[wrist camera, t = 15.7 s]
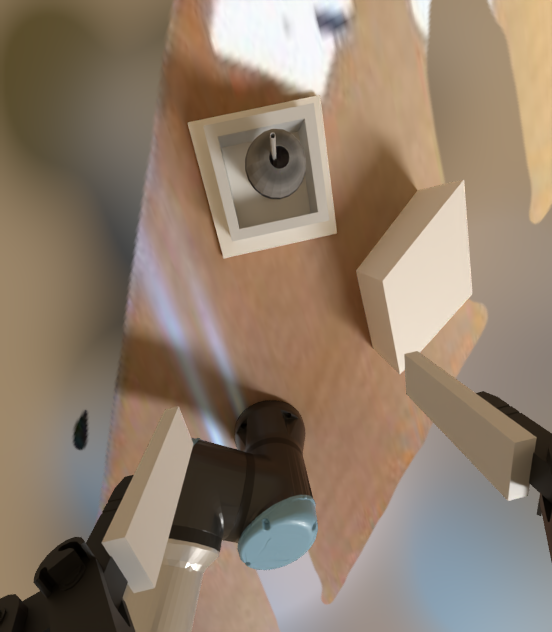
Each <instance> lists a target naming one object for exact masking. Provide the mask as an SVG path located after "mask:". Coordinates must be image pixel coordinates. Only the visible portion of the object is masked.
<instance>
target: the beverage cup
mask: <svg viewBox="0 0 552 632" xmlns="http://www.w3.org/2000/svg"><path fill="white" fill-rule="evenodd" d="M245 171H246V174H247V177H248V181H249V182H250V184H251V185H252V187H253V188H254V189H255V190H256V191H257V192H258V193H259V194H260V195H262V196H264V197H266V198H269V199H282V198H285V197H289V196H290V195H291V194H293V193H294V192H295V191H296V190H297V189H298V188H299V186H300V185H301V184H302V181H303V179H304V176H305V172H306V157H305V153H304V149H303V147H302V145H301V143H300V142H299V140H298V139H297V138H296V137H295V136H294V135H293V134H292V133H290V132H288V131H285V130H283V129H270V130H267V131H264V132H263V133H261V134H260V135H259V136H258V137H256V138H255V139H254V140H253V142H252V143H251V145H250V146H249V148H248V151H247V154H246V158H245Z"/></svg>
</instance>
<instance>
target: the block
mask: <svg viewBox="0 0 552 632" xmlns="http://www.w3.org/2000/svg"><path fill="white" fill-rule="evenodd" d="M356 274H357V279H358V283H359V288H360V292H361V297H362V301H363V306H364V310H365V315H366V319H367V324H368V329H369V333H370V338H371V342H372V347H373V349H374V350H375V351H376V352H377V353H378V354H379V355H380V356H381V357H382V358H384V359H385V360H386V361H387V362H388V363H389V364H390V365H391V366H392V367H393V368H394V369H395V370H396V371H397V372H398V373H399V374H401V373H402V372H403V371H404V370H405V359H404V354H406V353H411V352H415V351H418V352H419V353H420V352H421V351H422V349H423V348H424V347H425V346H426V345H427V344H428V343H429V342H430V341H431V339H432V338H433V337H434V336H435V335H436V334H437V333H438V332H439V331H440V329H441V328H442V327H443V326H444V325H445V324H446V323H447V322H448V320H449V319H450V318H451V317H452V316H453V315H454V314H455V313H456V312H457V310H458V309H459V308H460V307H461V306H462V305H463V304H464V303H465V302H466V300H467V299H468V298H469V297H470V296H471V295H472V282H471V269H470V255H469V241H468V227H467V213H466V199H465V185H464V179H463V180H459V181H455V182H451V183H447V184H442V185H438V186H434V187H430V188H426V189H421V190H417V192H416V193H415V194H414V196H413V197H412V198H411V200H410V201H409V202H408V203H407V205H406V206H405V207H404V209H403V210H402V211H401V213H400V214H399V215H398V217H397V218H396V219H395V220H394V222H393V223H392V224H391V226H390V227H389V228H388V230H387V231H386V232H385V233H384V235H383V236H382V237H381V239H380V240H379V241H378V243H377V244H376V245H375V246H374V248H373V249H372V250H371V252H370V253H369V254H368V256H367V257H366V258H365V260H364V261H363V262H362V263H361V265H360V266H359V267H358V269H357V270H356Z"/></svg>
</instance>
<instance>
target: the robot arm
mask: <svg viewBox="0 0 552 632" xmlns="http://www.w3.org/2000/svg"><path fill="white" fill-rule="evenodd" d="M404 359H405V378H406V394H407V395H408V396H409V397H410V398H411V399H412V400H413V402H414V403H415V404H416V405H417V406H418V407H419V408H420V409H421V410H422V411H423V412H424V413H425V414H426V415H427V416H428V417H429V418H430V419H431V420H432V421H433V423H434V424H435V425H436V426H437V427H438V428H439V429H440V430H441V431H442V432H443V433H444V434H445V435H446V436H447V437H448V438H449V439H450V440H451V441H452V442H453V443H454V445H455V446H456V447H457V448H458V449H459V450H460V451H461V452H462V453H463V454H464V455H465V456H466V457H467V458H468V459H469V460H470V461H471V462H472V464H473V465H475V467H476V468H477V469H478V470H479V471H480V472H481V473H482V474H483V475H484V476H485V477H486V478H487V479H488V480H489V481H490V482H491V483H492V484H493V485H494V487H495V488H496V489H497V490H498V491H499V492H500V493H501V494H502V495H503V496H504V497H505V498H506V499H507V500H508V501H509V500H513V499H517V498H521V497H525V496H528V492H529V485H530V484H531V485H532V486H533V487H534V488H535V489H537V491H538V492H540V498H539V503H538V509H537V515H539V516H541V514H542V516H543V521H544V526H545V531H546V535H547V541H548V546H549V551H550V556H551V561H552V433H550V432H549V431H547V430H546V429H544V428H543V427H541V426H540V425H538V424H537V423H535V422H534V421H532V420H531V419H529V418H528V417H526V416H525V415H523V414H522V413H519V411H517V410H516V409H515V408H513V407H510V406H509V404H507V403H506V402H504V401H502V400H501V399H500V398H498V397H496V396H493V395H491V394H489V393H486V392H484V391H483V392H479V393H474V392H473V391H472V390H470V389H469V388H468V387H466V386H465V385H463V384H462V383H461V382H459V381H458V380H457V379H455V378H454V377H452V376H451V375H450V374H448V373H447V372H446V371H444V370H443V369H441V368H440V367H439V366H437V365H436V364H434V363H433V362H432V361H430V360H429V359H428V358H426V357H425V356H423V355H422V354H421V353H419V352H418V351H415V352H411V353H406V354H404ZM304 441H305V427H304V423H303V420H302V417H301V415H300V414H299V412H298V411H297V410H296V409H295V408H294V407H292V406H291V405H289V404H287V403H284V402H281V401H263V402H259V403H256V404H254V405H252V406H250V407H249V408H247V409H246V410H245V411H244V412H243V413H242V414H241V415H240V417H239V418H238V420H237V423H236V427H235V443H236V447H237V449H238V450H237V449H233V448H229V447H225V446H222V445H218V444H214V443H211V442H207V441H203V440H200V438H196V439H194V438H191V436H190V434H189V431H188V429H187V426H186V424H185V421H184V419H183V416H182V414H181V411H180V409H179V406H178V407H173V408H169V409H165V411H164V413H163V415H162V417H161V419H160V421H159V423H158V425H157V428H156V430H155V432H154V434H153V436H152V438H151V440H150V442H149V444H148V446H147V449H146V451H145V453H144V455H143V457H142V459H141V461H140V463H139V465H138V467H137V469H136V472H135V474H134V475H131V476H127V477H124V479H123V480H122V481H121V482H120V483H119V484H118V485H117V487H116V488H115V489H114V491H113V493H112V495H111V497H110V498H109V500H108V504H106V506H105V508H104V510H103V514H101V516H100V517H99V519H98V521H97V523H96V525H95V527H94V529H93V531H92V533H91V535H90V536H89V538H88V540H87V542H86V543H85V541H84V540H83V539H82V538H81V537H74V538H71V539H68V540H66V541H65V542H63V543H61V544H60V545H58V546H57V547H56V548H55V549H54V550H53V551H51V552H50V553H49V554H48V555H47V557H46V558H45V559H44V560H43V562H42V563H41V564H40V566H39V568H38V569H37V571H36V573H35V577H34V583H35V585H36V586H37V587H38V588H39V589H40V592H38V593H36V594H35V595H33V596H31V597H29V598H27V599H25V600H24V601H21V600H20V599H19V597H18V596H16V594H14V595H7V596H5V597H3V598H1V599H0V632H191V631H192V626H193V621H194V616H195V612H196V607H197V602H198V597H199V592H200V588H201V583H202V578H203V573H204V572H205V570H206V569H207V568H208V567H209V566H210V565H211V564H212V563H213V562H214V561H215V560H216V559H217V558H218V557H219V553H220V547H221V542H222V540H225V541H231V542H235V543H238V548H237V549H238V552H239V556H240V558H241V560H242V561H243V562H244V563H245V564H246V565H247V566H248V567H250V568H253V569H257V570H270V569H276V568H280V567H283V566H285V565H288V564H290V563H292V562H294V561H296V560H297V559H298V558H300V557H301V556H303V555H304V554H305V553H306V552H307V551H308V550H309V549H310V547H311V546H312V544H313V543H314V541H315V538H316V535H317V531H318V523H317V516H316V510H315V501H314V499H313V496H312V492H311V488H310V484H309V480H308V475H307V471H306V467H305V463H304V459H303V447H304Z"/></svg>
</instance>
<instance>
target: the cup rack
mask: <svg viewBox="0 0 552 632" xmlns="http://www.w3.org/2000/svg"><path fill="white" fill-rule="evenodd" d="M187 123H188V127H189V131H190V134H191V138H192V142H193V146H194V149H195V153H196V157H197V161H198V164H199V168H200V172H201V176H202V179H203V183H204V187H205V190H206V194H207V198H208V202H209V205H210V209H211V213H212V217H213V220H214V224H215V228H216V232H217V235H218V239H219V243H220V247H221V250H222V254H223V258H228V257H232V256H237V255H241V254H246V253H250V252H255V251H259V250H264V249H269V248H273V247H278V246H282V245H287V244H291V243H296V242H300V241H305V240H309V239H314V238H319V237H323V236H328V235H332V234H337V229H336V221H335V213H334V205H333V196H332V188H331V180H330V172H329V164H328V156H327V148H326V140H325V132H324V124H323V116H322V108H321V100H320V95H317V96H313V97H308V98H303V99H298V100H293V101H288V102H284V103H279V104H274V105H269V106H264V107H260V108H255V109H250V110H245V111H240V112H235V113H231V114H226V115H221V116H216V117H211V118H206V119H202V120H197V121H192V122H187ZM270 129H283V130H285V131H288V132H290V133H292V134H293V135H294V136H295V137H296V138H297V139H298V140H299V142H300V143H301V145H302V147H303V149H304V153H305V157H306V172H305V176H304V179H303V181H302V184H301V185H300V186H299V188H298V189H297V190H296V191H295V192H294V193H293V194H291V195H290V196H289V197H285V198H282V199H269V198H266V197H264V196H262V195H260V194H259V193H258V192H257V191H256V190H255V189H254V188H253V187H252V185H251V184H250V182H249V181H248V177H247V174H246V171H245V158H246V154H247V151H248V148H249V146H250V145H251V143H252V142H253V140H254V139H255V138H256V137H258V136H259V135H260V134H261V133H263V132H264V131H267V130H270Z"/></svg>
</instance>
